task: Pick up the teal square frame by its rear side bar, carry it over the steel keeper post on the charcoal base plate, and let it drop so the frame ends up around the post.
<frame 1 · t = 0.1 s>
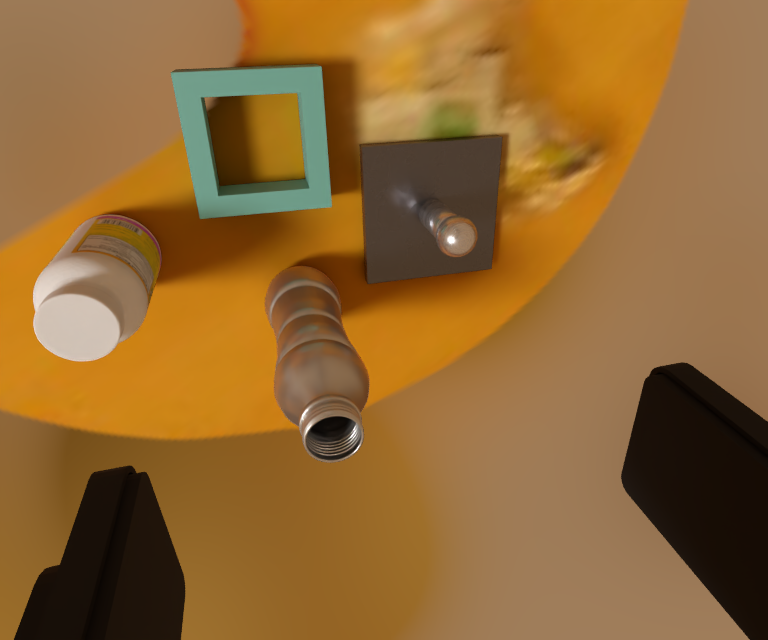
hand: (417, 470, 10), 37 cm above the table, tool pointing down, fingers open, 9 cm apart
plastic bottle: (300, 291, 48), on the table
teal square frame: (257, 138, 41), on the table
keeper: (428, 210, 47), on the table
supplement bottle: (119, 251, 42), on the table
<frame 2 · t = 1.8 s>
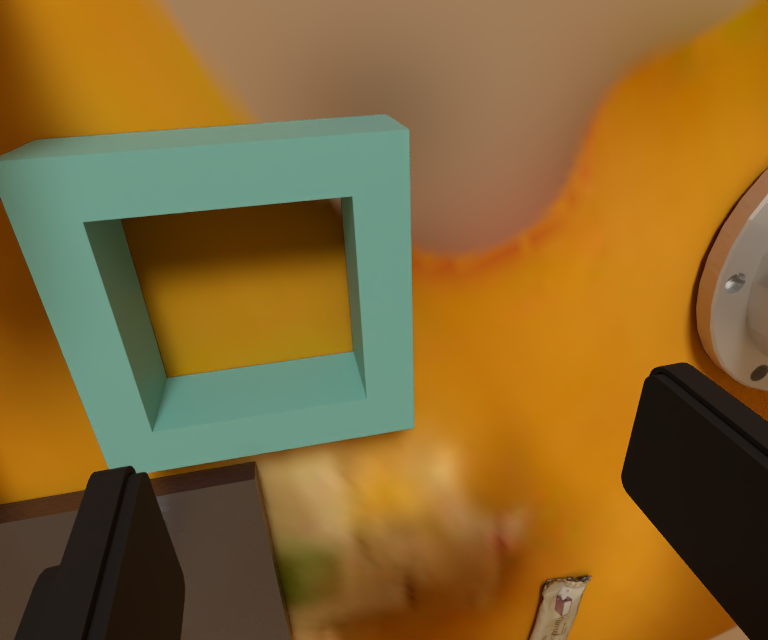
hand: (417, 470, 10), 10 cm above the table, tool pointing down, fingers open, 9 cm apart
snack bar: (544, 616, 33), on the table
teal square frame: (247, 281, 18), on the table
keeper: (140, 584, 24), on the table
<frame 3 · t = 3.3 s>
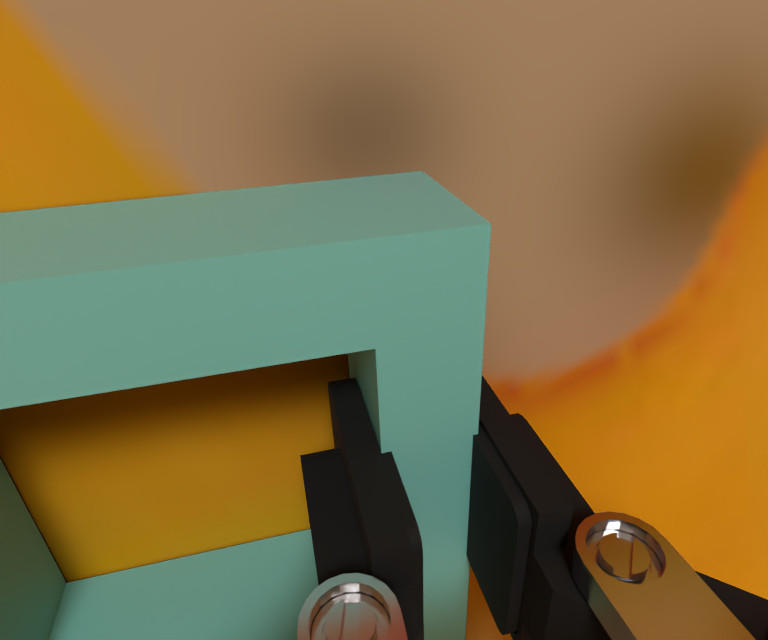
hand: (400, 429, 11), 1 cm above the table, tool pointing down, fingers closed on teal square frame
teal square frame: (190, 439, 11), on the table, touching gripper
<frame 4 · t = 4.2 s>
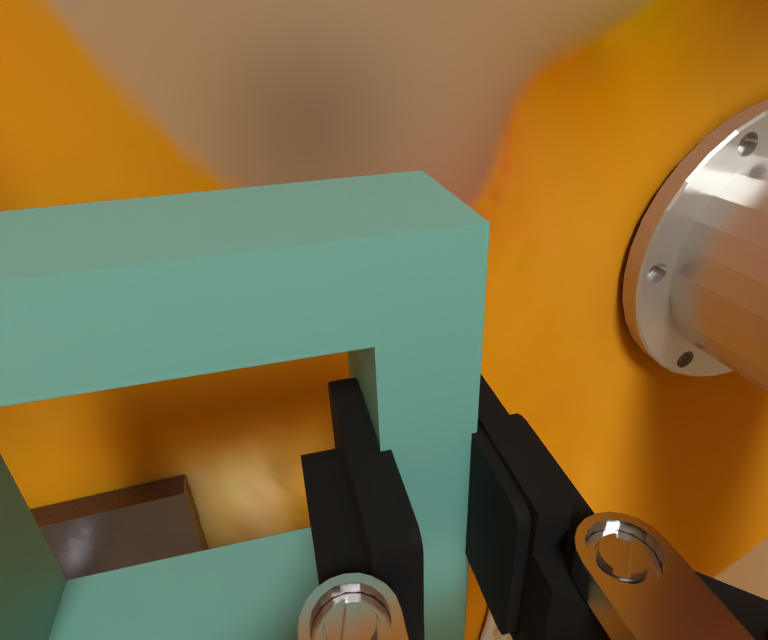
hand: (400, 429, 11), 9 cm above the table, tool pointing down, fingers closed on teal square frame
snack bar: (496, 608, 33), on the table
teal square frame: (190, 437, 11), point 8 cm above the table, touching gripper
keeper: (68, 610, 22), on the table
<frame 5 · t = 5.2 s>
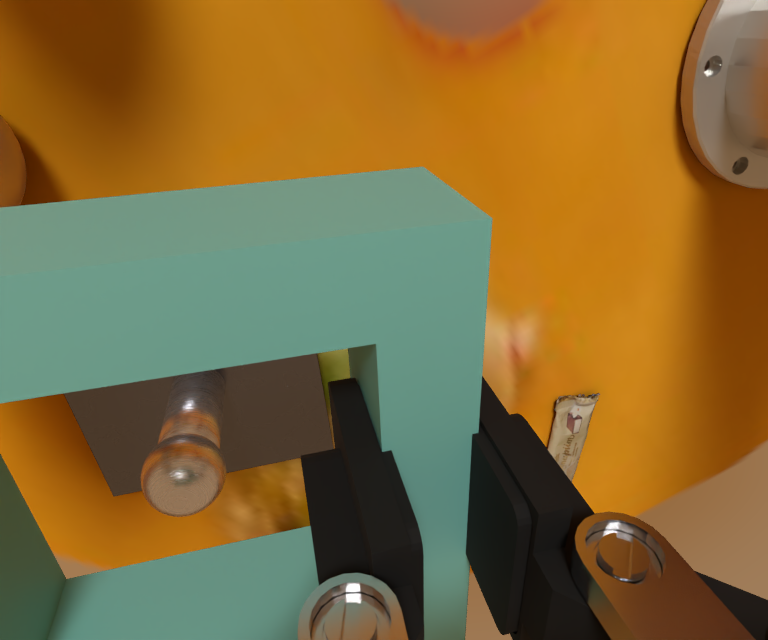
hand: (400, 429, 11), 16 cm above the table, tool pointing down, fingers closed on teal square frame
snack bar: (557, 443, 36), on the table
teal square frame: (190, 435, 11), point 15 cm above the table, touching gripper
keeper: (200, 375, 27), on the table
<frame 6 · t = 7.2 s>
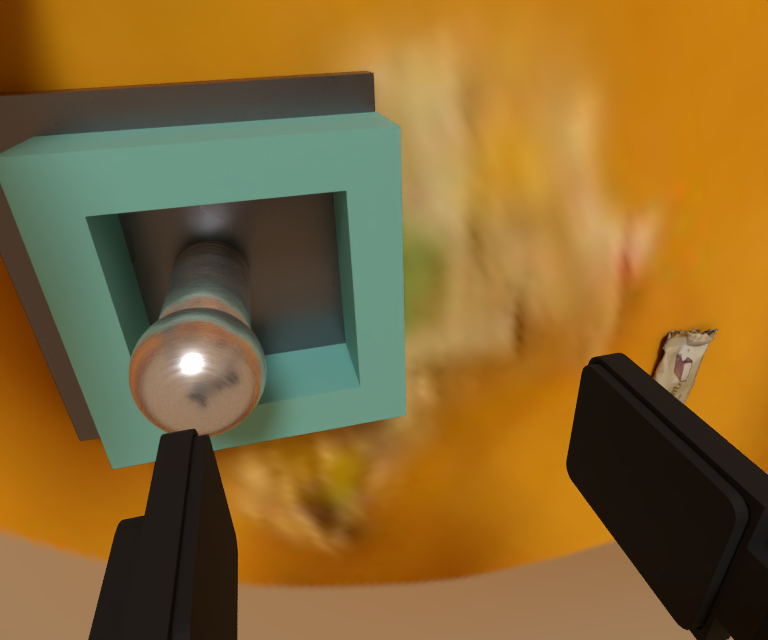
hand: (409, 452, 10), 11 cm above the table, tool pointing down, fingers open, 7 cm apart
snack bar: (650, 398, 29), on the table
teal square frame: (242, 274, 18), point 1 cm above the table, touching keeper
keeper: (213, 264, 19), on the table
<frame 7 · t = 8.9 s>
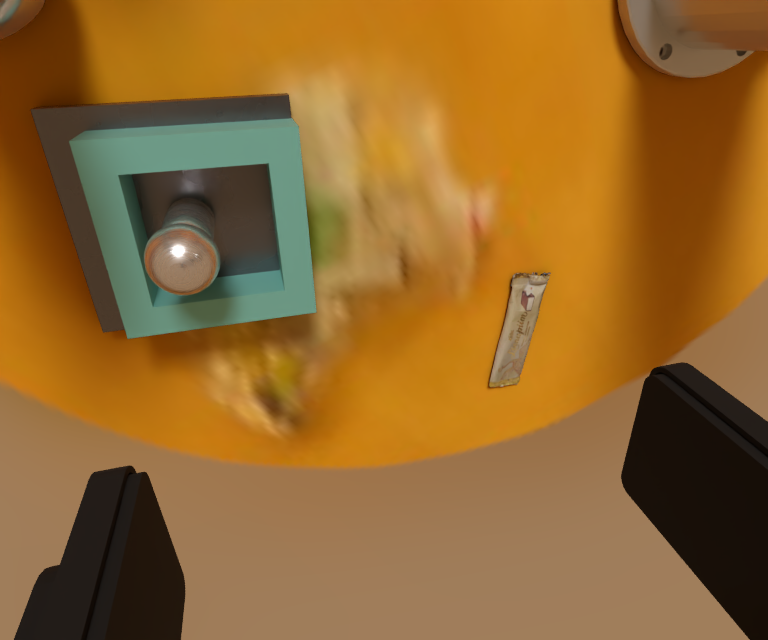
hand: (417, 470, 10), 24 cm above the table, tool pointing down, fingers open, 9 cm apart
snack bar: (511, 326, 40), on the table
teal square frame: (210, 220, 29), point 1 cm above the table, touching keeper
keeper: (191, 215, 30), on the table
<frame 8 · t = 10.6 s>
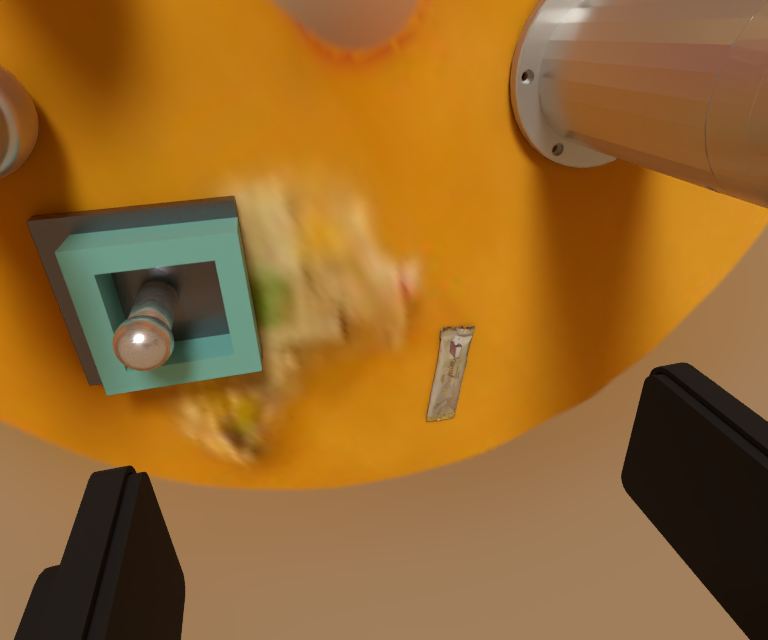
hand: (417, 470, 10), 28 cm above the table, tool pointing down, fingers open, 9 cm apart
snack bar: (445, 369, 46), on the table
teal square frame: (174, 297, 35), point 1 cm above the table, touching keeper
keeper: (160, 291, 36), on the table
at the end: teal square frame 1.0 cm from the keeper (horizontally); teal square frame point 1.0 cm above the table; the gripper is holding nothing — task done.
